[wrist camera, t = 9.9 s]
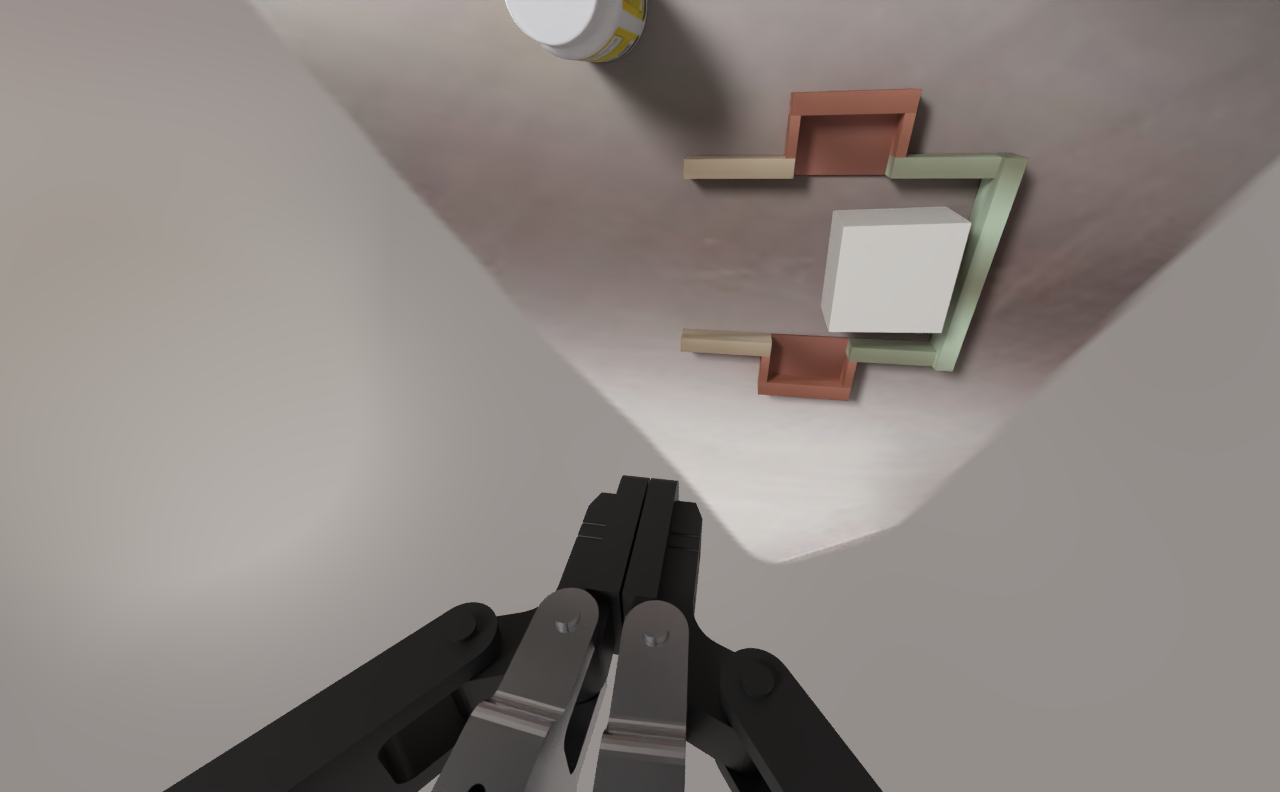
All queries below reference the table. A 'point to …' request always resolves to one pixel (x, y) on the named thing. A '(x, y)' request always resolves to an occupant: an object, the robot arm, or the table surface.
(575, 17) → the supplement bottle
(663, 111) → the table surface
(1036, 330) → the table surface
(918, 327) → the grey block
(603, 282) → the table surface
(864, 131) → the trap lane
